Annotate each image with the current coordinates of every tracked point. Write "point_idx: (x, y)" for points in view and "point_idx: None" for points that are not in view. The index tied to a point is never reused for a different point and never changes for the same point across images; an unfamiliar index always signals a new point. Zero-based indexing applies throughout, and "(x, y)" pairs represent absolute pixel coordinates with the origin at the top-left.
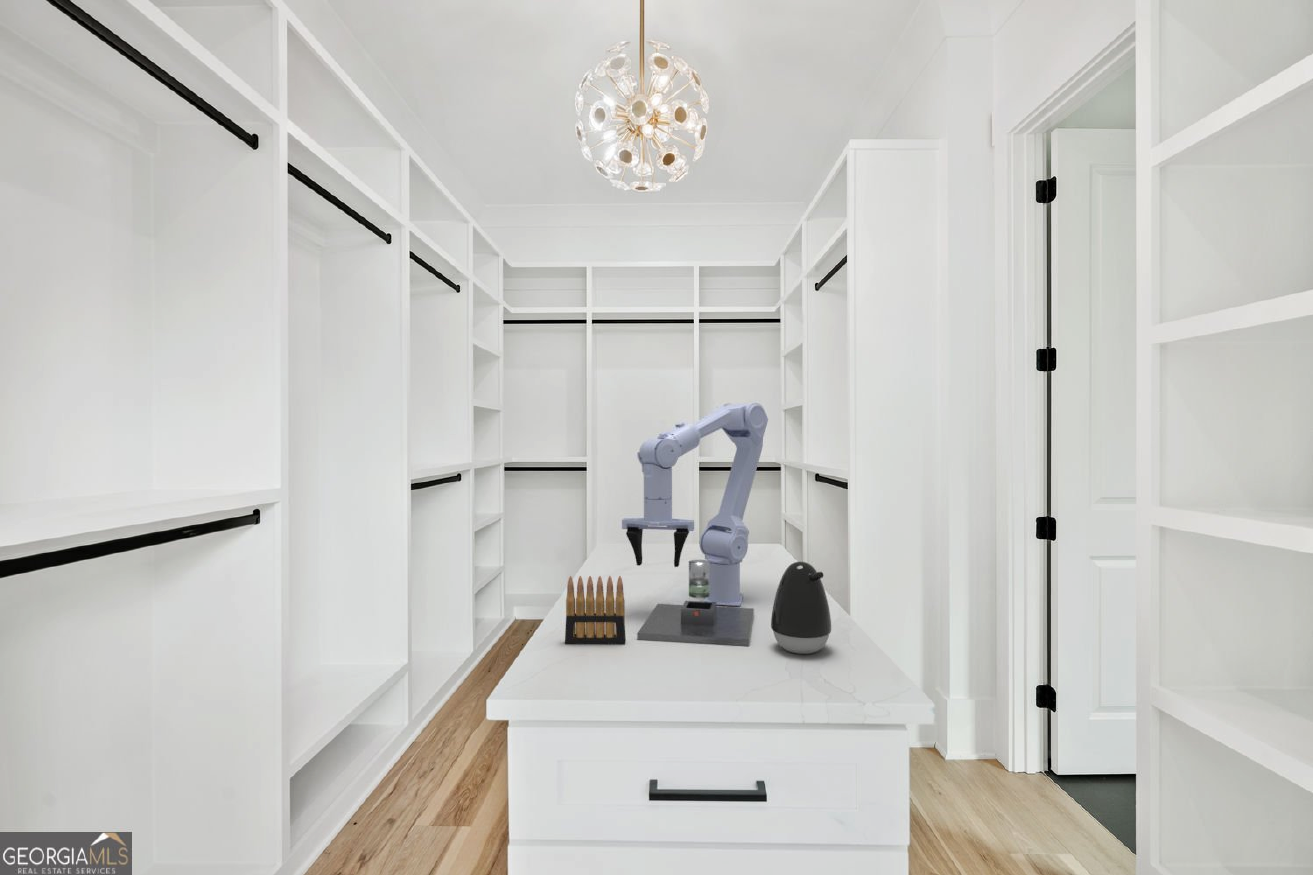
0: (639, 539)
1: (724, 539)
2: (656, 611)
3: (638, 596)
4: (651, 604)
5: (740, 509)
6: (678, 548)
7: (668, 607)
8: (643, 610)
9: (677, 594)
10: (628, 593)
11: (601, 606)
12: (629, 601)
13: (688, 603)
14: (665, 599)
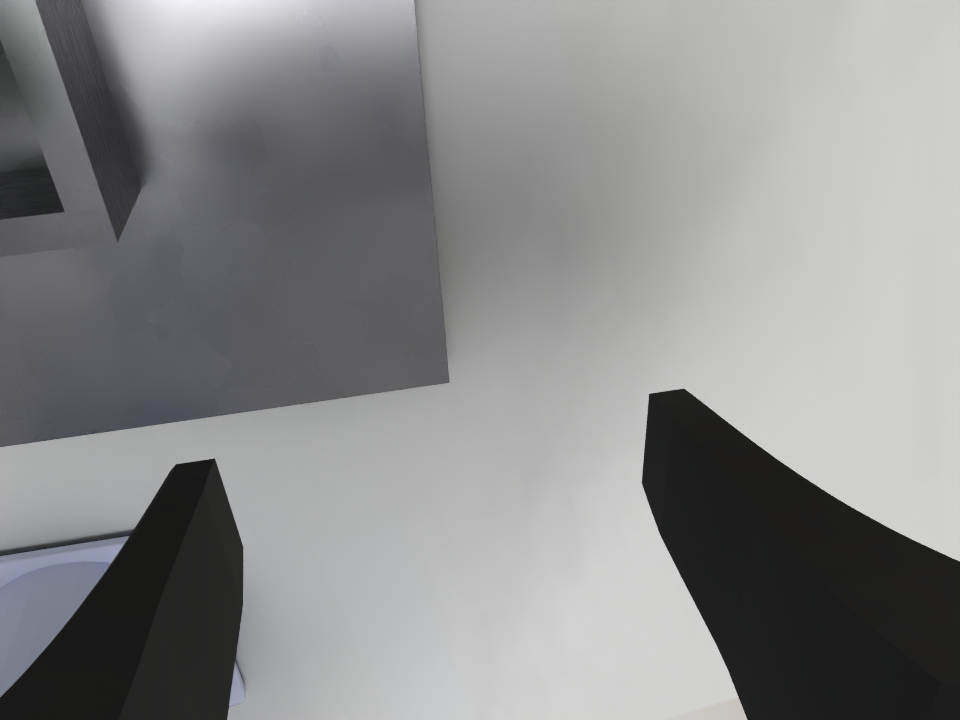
0: (812, 689)
1: None
2: (400, 205)
3: (624, 544)
4: (512, 440)
5: None
6: (76, 651)
7: (345, 325)
8: (532, 313)
9: (415, 636)
10: None
11: None
12: None
13: (55, 178)
14: (455, 545)
